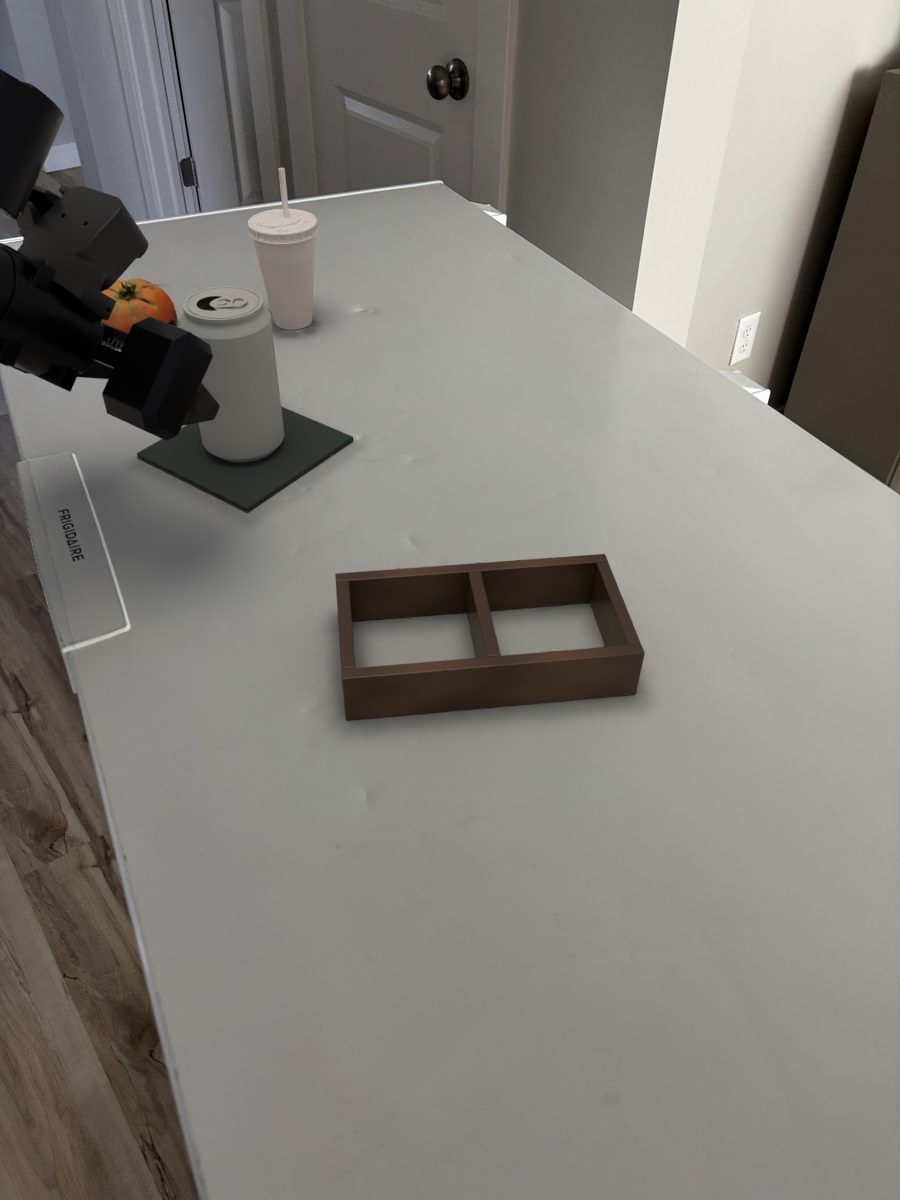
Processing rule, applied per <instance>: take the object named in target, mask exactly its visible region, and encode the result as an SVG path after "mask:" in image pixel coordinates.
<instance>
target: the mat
mask: <svg viewBox="0 0 900 1200" xmlns="http://www.w3.org/2000/svg"><path fill="white" fill-rule="evenodd" d="M281 409H282V418H283V426H284V438H283V441H282V443H281V444H280V445H279V446H278V447H277V448H276V449H275V450H274V451H273V452H272V453H271V454H269V455H268V456H266V457H264V458H261V459H259V460H255V461H250V462H231V461H227V460H224V459H221V458H219V457H217V456H215V455H213V454H211V453H210V452H208V451H207V450H206V449H205V447H204V446H203V443H202V438H201V433H200V428H199V423H194V424H189V425H184V426H182V427H181V430H180V432H179V434H178V436H176V437H174V438H172V439H170V440H169V441H166V440H164V439H161V438H160V439H159V440H158V441H156V442H154V443H152V444H151V445H148V446H146V447H145V448H143V449H142V450H140V451H138V452H137V453H136V456H137V458H138V459H140V460H142V461H144V462H146V463H148V464H150V465H152V466H154V467H156V468H158V469H160V470H161V471H164V472H166V473H168V474H170V475H172V476H174V477H176V478H178V479H181V480H182V481H184V482H186V483H188V484H190V485H192V486H194V487H196V488H198V489H200V490H202V491H204V492H206V493H208V494H210V495H212V496H214V497H216V498H218V499H220V500H222V501H224V502H226V503H228V504H230V505H232V506H234V507H236V508H239V509H240V510H242V511H245V512H246V513H249V512H250V511H253V509H255V508H257V507H258V506H260V505H261V504H263V503H264V502H266V501H267V500H268V499H270V498H271V497H272V496H274V495H275V494H277V493H278V492H280V491H281V490H283V489H284V488H286V487H287V486H289V485H290V484H292V483H294V482H295V481H296V480H297V479H299V478H301V477H302V476H304V475H305V474H307V473H308V472H309V471H311V470H312V469H314V468H316V467H318V465H320V464H321V463H323V462H324V461H326V460H327V459H329V458H330V457H331V456H333V455H334V454H336V453H337V452H339V451H341V450H342V449H343V448H345V447H346V446H348V445H350V444H351V443H352V442H354V436H352V435H350V434H348V433H345V432H343V431H340V430H339V429H335V428H333V427H331V426H329V425H326V424H324V423H322V422H319V421H317V420H315V419H312V418H309V417H308V416H305V415H303V414H300V413H298V412H296V411H294V410H291V409H288V408H286V407H284V406H282V405H281Z"/></svg>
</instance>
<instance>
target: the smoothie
mask: <svg viewBox="0 0 900 1200" xmlns="http://www.w3.org/2000/svg"><path fill="white" fill-rule="evenodd" d="M278 179H279V180H278V181H279V190H280V197H281V208H274V209H268V210H264V211H261V212H258V213H256V214H254V215H252V216H251V217H249V219H248V221H247V229H248V231H247V234H248V236H249V237H250V238H251V239H252V240H253V244H254V247H255V248H254V249H255V252H256V256H257V260H258V264H259V268H260V272H261V276H262V279H263V283H264V288H265V292H266V296H267V299H268V304H269V307H270V311H271V316H272V321H273V323H274V326H275V327H277V328H279V329H283V330H287V331H288V330H289V331H291V330H292V331H293V330H300V329H304V328H307V327H309V326H310V325H311V324H312V323H313V311H314V310H313V309H314V308H313V307H314V283H315V282H314V281H315V258H316V257H315V256H316V255H315V253H316V236H317V235H318V234H319V231H320V228H319V225H318V223H319V222H318V218H317V216H315V215H314V214H313V213H311V212H309V211H306V210H302V209H295V208H289V199H288V189H287V188H288V187H287V180H286V179H287V178H286V170H285V167H279V168H278Z"/></svg>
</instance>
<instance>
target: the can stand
mask: <svg viewBox="0 0 900 1200" xmlns="http://www.w3.org/2000/svg"><path fill="white" fill-rule="evenodd" d="M334 576H335V577H334V578H335V591H336V604H337V605H336V607H337V608H336V609H337V623H338V640H339V657H340V670H341V671H340V672H341V673H340V674H341V685H342V696H343V706H344V707H343V708H344V718H345V720H346V721H351V720H352V721H353V720H364V719H376V718H386V717H387V718H388V717H398V716H408V715H409V716H410V715H420V714H421V715H422V714H430V713H431V714H432V713H441V712H451V711H452V712H453V711H463V710H476V709H486V708H497V707H507V706H508V707H509V706H519V705H521V706H522V705H530V704H540V703H541V704H542V703H552V702H553V703H554V702H563V701H564V702H565V701H573V700H585V699H596V698H607V697H618V696H620V697H621V696H631V695H636V694H637V691H638V687H639V682H640V677H641V673H642V669H643V664H644V659H645V655H646V653H645V650H644V647H643V645H642V642H641V640H640V638H639V635H638V633H637V630H636V628H635V626H634V623H633V620H632V617H631V615H630V612H629V610H628V607H627V605H626V603H625V600H624V598H623V596H622V592H621V591H620V588H619V585H618V583H617V580H616V578H615V575H614V573H613V570H612V568H611V566H610V563H609V560H608V557H607V555H606V554H605V553H598V554H597V553H596V554H585V555H569V556H556V557H555V556H554V557H544V558H543V557H542V558H528V559H515V560H502V561H489V562H488V561H487V562H475V563H474V562H473V563H472V562H471V563H460V564H447V565H446V564H445V565H433V566H419V567H418V566H417V567H406V568H405V567H404V568H392V569H391V568H390V569H378V570H366V571H364V570H363V571H350V572H339V573H337V572H336V573H335V575H334ZM578 604H590V607H591V609H592V612H593V615H594V617H595V621H596V623H597V625H598V629H599V631H600V634H601V637H602V639H603V643H604V645H605V646H601V647H588V648H578V649H577V648H575V649H567V650H566V649H565V650H553V651H542V652H529V653H517V654H516V653H515V654H505V655H504V654H503V655H501V651H500V646H499V643H498V639H497V638H498V637H497V635H496V630H495V625H494V622H493V621H494V620H493V617H492V614H491V613H492V612H491V611H501V610H512V609H513V610H514V609H526V608H538V607H551V606H552V607H553V606H565V605H578ZM464 613H466V616H467V621H468V625H469V630H470V635H471V640H472V645H473V651H474V655H475V657H470V658H469V657H468V658H459V659H447V660H433V661H422V662H421V661H420V662H411V663H410V662H409V663H399V664H387V665H376V666H373V665H372V666H362V667H356V655H355V642H354V632H353V622H360V621H374V620H375V621H376V620H386V619H399V618H410V617H411V618H412V617H424V616H438V615H450V614H464Z"/></svg>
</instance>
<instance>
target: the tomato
mask: <svg viewBox="0 0 900 1200" xmlns="http://www.w3.org/2000/svg"><path fill="white" fill-rule="evenodd" d="M102 293H104V294H105V295H107V296H109V297H110V298H112V299H114V300H115V301H116V304H115V306H114V308H113V311H112V313H111V315H110V318H109V319H108V320H104V319H102V323H104V324H107V325H109V326H112V327H114V328H117V329H119V330H122V331H124V332H127V333H129V332H130V329H131V327H132V325H133V324H135V323H137V322H139V321H141V320H143V319H146V318H148V317H153V318H155V319H158V320H160V321H163V322H165V323H168V324H170V323H171V319H172V320H174V326H176V327H177V321H178V315H177V310H176V308H175V304H174V302H173V300H172V299H171V297H170V296H169V294H168V293H167V292H165V290H163V288H161V287H160V286H158V285H157V284H156V283H153V282H151V281H149V280H146V279H143V278H137V277H134V278H129V279H125V280H124V279H123V280H122V278H121V280H117V281H116V282H115V283H114V284H113V285H112V286H111V287H110V288H108V289H107V290H105V291H102Z"/></svg>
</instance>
